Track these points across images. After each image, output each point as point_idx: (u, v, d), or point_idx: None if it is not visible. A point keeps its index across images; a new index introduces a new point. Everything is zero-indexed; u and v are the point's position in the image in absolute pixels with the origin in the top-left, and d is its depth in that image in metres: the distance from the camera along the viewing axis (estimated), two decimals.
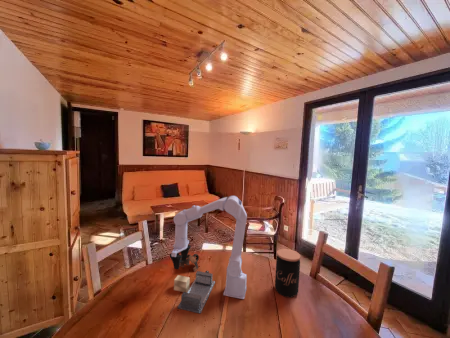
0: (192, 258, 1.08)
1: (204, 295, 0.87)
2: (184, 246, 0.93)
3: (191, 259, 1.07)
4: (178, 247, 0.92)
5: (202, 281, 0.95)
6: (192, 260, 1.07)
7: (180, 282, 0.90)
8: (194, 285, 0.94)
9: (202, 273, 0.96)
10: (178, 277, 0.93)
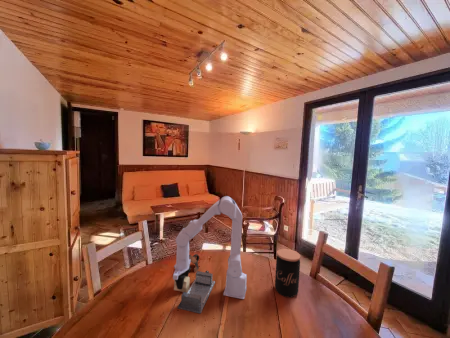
0: (192, 258, 1.08)
1: (204, 295, 0.87)
2: (186, 267, 0.90)
3: (191, 259, 1.07)
4: (180, 268, 0.89)
5: (202, 281, 0.95)
6: (192, 260, 1.07)
7: None
8: (194, 285, 0.94)
9: (202, 273, 0.96)
10: None
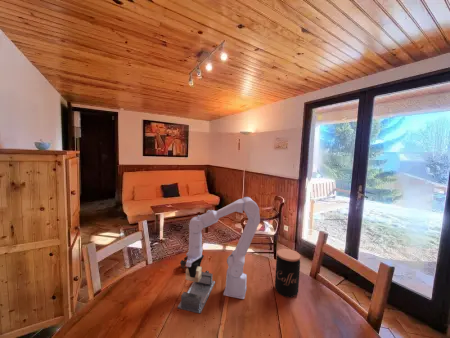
0: None
1: (204, 295, 0.87)
2: (199, 255, 0.87)
3: None
4: (192, 256, 0.86)
5: (202, 281, 0.95)
6: None
7: None
8: (194, 285, 0.94)
9: (202, 273, 0.96)
10: None
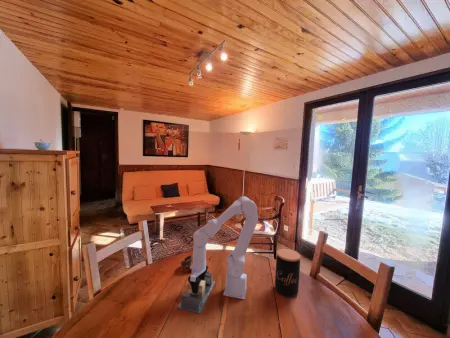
0: None
1: (204, 295, 0.87)
2: (203, 268, 0.86)
3: None
4: (196, 270, 0.85)
5: None
6: None
7: None
8: None
9: None
10: None
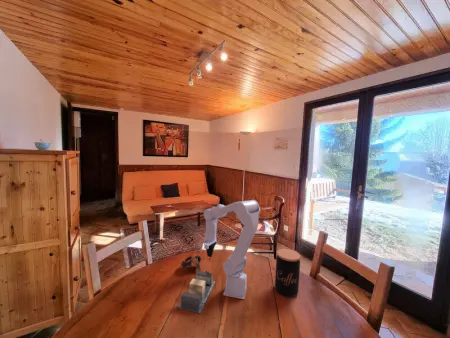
0: (194, 260, 1.07)
1: (204, 295, 0.87)
2: (214, 239, 1.02)
3: (193, 261, 1.06)
4: (209, 240, 1.01)
5: None
6: (194, 262, 1.05)
7: (196, 286, 0.87)
8: None
9: (202, 273, 0.96)
10: (193, 281, 0.89)
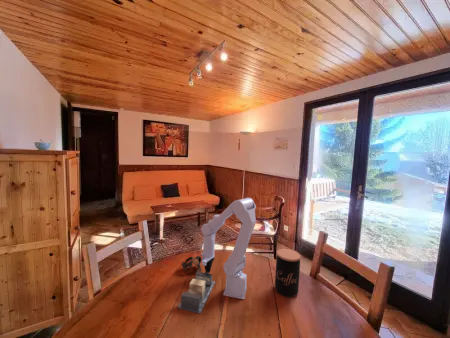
0: (195, 260, 1.06)
1: (204, 295, 0.87)
2: (212, 255, 1.00)
3: (194, 261, 1.05)
4: (207, 256, 0.99)
5: None
6: (195, 262, 1.05)
7: (196, 286, 0.87)
8: None
9: (202, 274, 0.96)
10: (193, 281, 0.89)
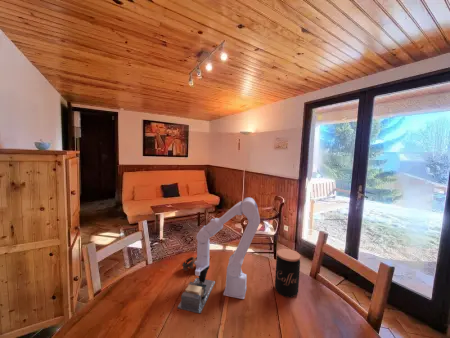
0: None
1: None
2: (206, 264, 0.91)
3: None
4: (201, 265, 0.90)
5: None
6: None
7: (192, 292, 0.83)
8: None
9: (195, 284, 0.88)
10: (189, 287, 0.85)
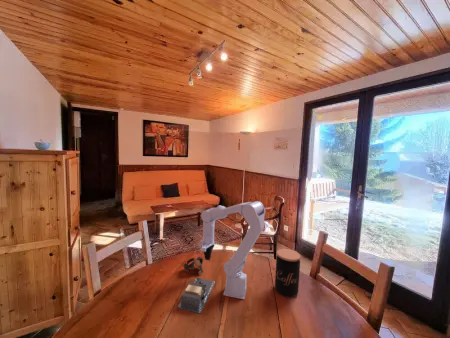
0: (197, 262, 1.05)
1: None
2: (212, 242, 0.98)
3: (196, 263, 1.04)
4: (206, 243, 0.97)
5: None
6: (197, 264, 1.04)
7: (192, 293, 0.82)
8: None
9: (195, 285, 0.87)
10: (189, 287, 0.85)
